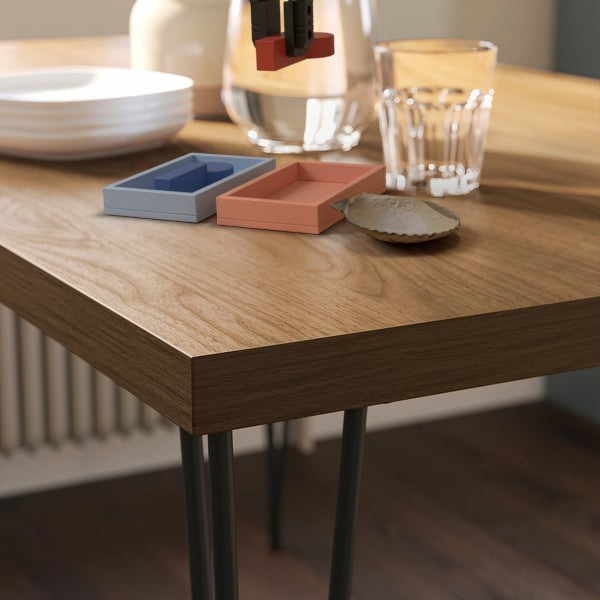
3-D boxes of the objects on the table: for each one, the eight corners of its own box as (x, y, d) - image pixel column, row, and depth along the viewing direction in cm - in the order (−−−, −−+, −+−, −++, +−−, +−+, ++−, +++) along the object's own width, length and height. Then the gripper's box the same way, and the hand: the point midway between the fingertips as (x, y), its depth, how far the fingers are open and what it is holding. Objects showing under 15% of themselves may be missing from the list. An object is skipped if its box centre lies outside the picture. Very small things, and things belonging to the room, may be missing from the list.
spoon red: (291, 71, 78) (290, 41, 77) (240, 70, 79) (238, 40, 79) (342, 51, 85) (341, 23, 85) (294, 50, 87) (293, 23, 86)
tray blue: (192, 176, 97) (191, 152, 97) (276, 182, 94) (275, 158, 94) (104, 214, 86) (102, 187, 85) (196, 223, 83) (195, 195, 82)
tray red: (294, 184, 94) (294, 159, 93) (386, 191, 90) (386, 165, 90) (217, 224, 82) (215, 197, 81) (318, 234, 79) (317, 205, 78)
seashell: (407, 287, 73) (484, 232, 78) (406, 246, 72) (485, 192, 76) (311, 243, 78) (388, 194, 83) (308, 204, 76) (387, 156, 81)
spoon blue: (186, 207, 85) (185, 180, 84) (141, 203, 87) (139, 176, 86) (242, 180, 93) (241, 155, 92) (200, 177, 94) (199, 153, 94)
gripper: (394, -222, 76) (395, 51, 81) (208, -209, 81) (220, 47, 87) (351, -233, 69) (355, 65, 75) (151, -217, 75) (169, 60, 80)
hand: (282, 54), depth 81 cm, fingers closed on spoon red, 1 cm apart
